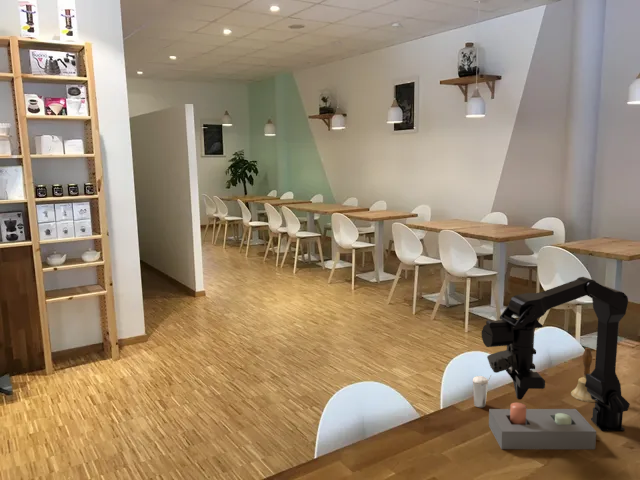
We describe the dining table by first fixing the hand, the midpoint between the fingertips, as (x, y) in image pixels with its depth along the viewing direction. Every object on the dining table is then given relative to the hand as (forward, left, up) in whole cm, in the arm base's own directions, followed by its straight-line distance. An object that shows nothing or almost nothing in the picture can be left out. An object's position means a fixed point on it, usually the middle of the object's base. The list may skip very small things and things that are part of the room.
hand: (519, 398), depth 141 cm
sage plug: (-12, 0, -10) cm, 16 cm away
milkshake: (+5, -18, -11) cm, 22 cm away
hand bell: (-29, -24, -11) cm, 39 cm away
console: (-6, 0, -11) cm, 13 cm away
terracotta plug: (0, 0, -7) cm, 7 cm away
